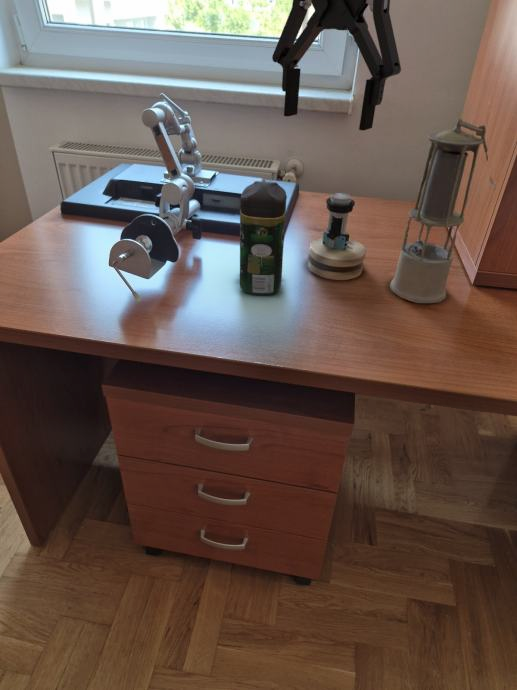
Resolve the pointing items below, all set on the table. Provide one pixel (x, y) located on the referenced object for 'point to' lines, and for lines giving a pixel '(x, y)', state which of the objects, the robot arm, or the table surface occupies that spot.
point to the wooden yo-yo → (336, 260)
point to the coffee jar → (262, 237)
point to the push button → (338, 221)
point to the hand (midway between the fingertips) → (326, 122)
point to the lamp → (437, 215)
